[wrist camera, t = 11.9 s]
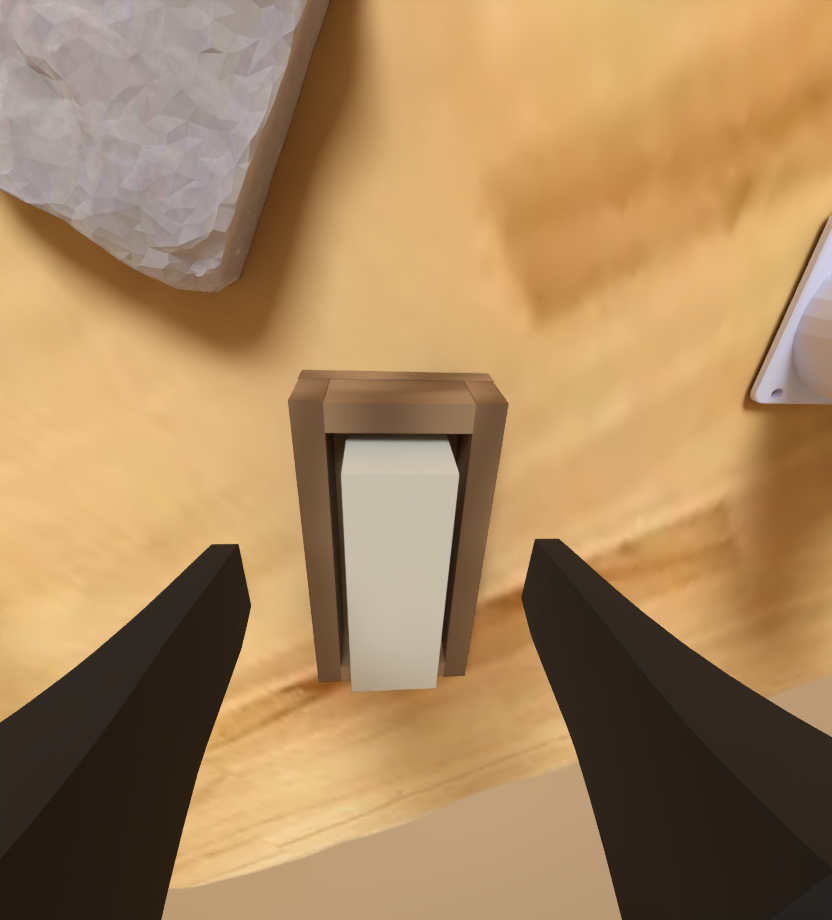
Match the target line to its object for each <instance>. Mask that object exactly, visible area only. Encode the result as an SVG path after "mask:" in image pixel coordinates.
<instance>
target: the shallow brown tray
mask: <svg viewBox="0 0 832 920" xmlns="http://www.w3.org/2000/svg"><path fill="white" fill-rule="evenodd" d="M493 382H494V381H493V380H492V378H491V377H490V376H489V374H477V373H426V372H375V371H323V370H302V371H301V373H300V375H299V377H298V382H297V384H296V386H295V388H294V390H293V392H292V394H291V396H290V398H289V400H288V405H289V414H290V423H291V432H292V441H293V450H294V460H295V469H296V478H297V487H298V496H299V505H300V514H301V524H302V533H303V542H304V551H305V560H306V569H307V578H308V588H309V597H310V606H311V615H312V624H313V633H314V643H315V652H316V661H317V670H318V679H319V682H339V681H348V680H351V666H350V646H349V626H348V605H347V585H346V565H345V544H344V524H343V504H342V483H341V472H342V465H343V458H344V451H345V444H346V438H347V433H412V434H446V435H447V438H448V441H449V444H450V447H451V450H452V453H453V456H454V459H455V462H456V465H457V468H458V472H459V482H458V491H457V500H456V509H455V518H454V527H453V536H452V546H451V555H450V564H449V573H448V582H447V591H446V600H445V609H444V618H443V627H442V637H441V646H440V655H439V664H438V673H437V676H443V677H448V676H465V670H466V664H467V658H468V652H469V646H470V639H471V633H472V627H473V621H474V614H475V608H476V602H477V596H478V590H479V583H480V577H481V571H482V565H483V559H484V552H485V546H486V540H487V534H488V528H489V521H490V515H491V509H492V503H493V496H494V490H495V484H496V478H497V472H498V465H499V459H500V453H501V447H502V441H503V434H504V428H505V422H506V416H507V410H508V402H507V401H506V399H505V398H504V396H503V395H502V394H501V392H500V391H499V389H498V388H497V387H496V385H495V384H494V383H493Z"/></svg>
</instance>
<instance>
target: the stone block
mask: <svg viewBox="0 0 832 920" xmlns="http://www.w3.org/2000/svg"><path fill="white" fill-rule="evenodd" d="M329 1H330V0H0V190H2V191H4V192H6V193H8V194H10V195H12V196H13V197H15V198H17V199H19V200H21V201H24V202H26V203H28V204H30V205H32V206H35V207H37V208H39V209H41V210H44V211H46V212H48V213H50V214H52V215H54V216H56V217H58V218H60V219H62V220H64V221H65V222H66V223H67V224H69V225H70V226H71V227H73V228H74V229H75V230H77V231H78V232H79V233H81V234H82V235H84V236H85V237H87V238H88V239H90V240H91V241H93V242H94V243H96V244H97V245H99V246H100V247H102V248H103V249H104V250H106V251H107V252H109V253H110V254H111V255H113V256H114V257H115V258H117V259H118V260H120V261H121V262H123V263H124V264H126V265H128V266H129V267H131V268H133V269H135V270H137V271H139V272H141V273H143V274H145V275H146V276H149V277H151V278H154V279H157V280H159V281H161V282H163V283H165V284H167V285H169V286H171V287H174V288H176V289H184V290H194V291H202V292H219V291H221V290H222V289H224V288H225V287H226V286H228V285H231V284H232V283H234V282H235V281H236V280H238V279H239V277H240V275H241V273H242V271H243V267H244V263H245V260H246V258H247V255H248V253H249V250H250V247H251V244H252V240H253V237H254V234H255V230H256V227H257V223H258V220H259V218H260V215H261V212H262V209H263V206H264V203H265V200H266V197H267V193H268V190H269V187H270V184H271V180H272V177H273V174H274V171H275V168H276V165H277V162H278V159H279V157H280V154H281V151H282V148H283V145H284V142H285V139H286V135H287V132H288V129H289V126H290V123H291V120H292V116H293V113H294V110H295V108H296V105H297V102H298V99H299V96H300V92H301V89H302V85H303V82H304V79H305V76H306V73H307V70H308V66H309V63H310V59H311V56H312V52H313V49H314V46H315V43H316V41H317V38H318V35H319V32H320V29H321V26H322V23H323V20H324V18H325V15H326V12H327V9H328V5H329Z"/></svg>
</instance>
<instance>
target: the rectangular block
mask: <svg viewBox="0 0 832 920" xmlns="http://www.w3.org/2000/svg"><path fill="white" fill-rule="evenodd" d="M458 482H459V472H458V468H457V465H456V462H455V459H454V456H453V453H452V450H451V447H450V444H449V441H448V438H447V435H446V434H412V433H347V438H346V444H345V451H344V458H343V465H342V472H341V483H342V504H343V524H344V544H345V565H346V585H347V605H348V626H349V646H350V666H351V687H352V692H366V691H387V690H407V689H428V688H436V682H437V673H438V664H439V655H440V646H441V637H442V627H443V618H444V609H445V600H446V591H447V582H448V573H449V564H450V555H451V546H452V536H453V527H454V518H455V509H456V500H457V491H458Z"/></svg>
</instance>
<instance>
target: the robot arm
mask: <svg viewBox="0 0 832 920" xmlns="http://www.w3.org/2000/svg"><path fill="white" fill-rule="evenodd" d="M774 390H775V392H774V393H773V394H772V392H773V391H774ZM771 394H772V395H771ZM750 398H751V399H752V400H753V401H755V402H757V403H761V404H832V214H831V216H830V217H829V219H828V222H827V224H826V226H825V228H824V230H823V233H822V235H821V237H820V239H819V241H818V244H817V246H816V248H815V250H814V253H813V255H812V257H811V259H810V261H809V264H808V266H807V268H806V270H805V272H804V275H803V277H802V279H801V281H800V283H799V286H798V288H797V290H796V292H795V295H794V297H793V299H792V301H791V303H790V306H789V308H788V310H787V312H786V314H785V317H784V319H783V321H782V323H781V326H780V328H779V330H778V332H777V334H776V337H775V339H774V341H773V343H772V345H771V348H770V350H769V352H768V354H767V357H766V359H765V361H764V363H763V365H762V368H761V370H760V372H759V374H758V376H757V379H756V381H755V383H754V385H753V388H752V390H751V393H750ZM521 598H522V602H523V606H524V610H525V614H526V618H527V622H528V626H529V629H530V633H531V637H532V639H533V642H534V644H535V647H536V650H537V652H538V655H539V657H540V660H541V662H542V665H543V668H544V670H545V673H546V675H547V678H548V680H549V683H550V685H551V688H552V690H553V693H554V695H555V698H556V700H557V703H558V705H559V708H560V710H561V713H562V715H563V718H564V720H565V723H566V725H567V728H568V731H569V733H570V736H571V739H572V742H573V745H574V747H575V750H576V754H577V757H578V760H579V764H580V767H581V770H582V773H583V777H584V780H585V784H586V787H587V790H588V794H589V797H590V801H591V804H592V808H593V811H594V815H595V818H596V822H597V826H598V829H599V833H600V837H601V840H602V844H603V847H604V851H605V855H606V859H607V863H608V867H609V871H610V874H611V878H612V882H613V886H614V890H615V894H616V898H617V902H618V906H619V910H620V913H621V918H622V920H832V737H830V736H829V735H827V734H825V733H823V732H822V731H820V730H818V729H816V728H815V727H813V726H811V725H809V724H808V723H806V722H804V721H802V720H801V719H799V718H797V717H796V716H794V715H792V714H790V713H789V712H787V711H785V710H784V709H782V708H780V707H779V706H777V705H775V704H774V703H772V702H771V701H769V700H767V699H766V698H764V697H763V696H761V695H759V694H758V693H756V692H755V691H753V690H751V689H750V688H748V687H746V686H745V685H743V684H742V683H740V682H739V681H737V680H736V679H734V678H733V677H731V676H730V675H728V674H726V673H725V672H723V671H722V670H721V669H719V668H718V667H716V666H715V665H713V664H712V663H711V662H709V661H708V660H706V659H705V658H703V657H702V656H700V655H699V654H698V653H696V652H695V651H693V650H692V649H690V648H689V647H688V646H686V645H685V644H684V643H682V642H681V641H679V640H678V639H677V638H675V637H674V636H673V635H672V634H670V633H669V632H668V631H666V630H665V629H664V628H663V627H661V626H660V625H659V624H657V623H656V622H655V621H654V620H652V619H651V618H650V617H648V616H647V615H646V614H645V613H644V612H642V611H641V610H640V609H639V608H637V607H636V606H635V605H634V604H633V603H631V602H630V601H629V600H628V599H627V598H625V597H624V596H623V595H622V594H621V593H620V592H618V591H617V590H616V589H615V588H614V587H613V586H612V585H610V584H609V583H608V582H607V581H606V580H605V579H604V578H602V577H601V576H600V575H599V574H598V573H597V572H596V571H595V570H593V569H592V568H591V567H590V566H589V565H588V564H587V563H586V562H585V561H583V560H582V559H581V558H580V557H579V556H578V555H577V554H576V553H574V552H573V551H572V550H571V549H570V548H569V547H568V546H567V545H565V544H564V543H563V542H562V541H561V540H559V539H535V541H534V546H533V550H532V554H531V559H530V563H529V567H528V572H527V576H526V580H525V584H524V589H523V593H522V597H521ZM250 608H251V603H250V598H249V593H248V588H247V583H246V579H245V574H244V569H243V564H242V559H241V554H240V549H239V545H238V544H214V545H211V546H210V547H209V548H207V549H206V550H205V551H204V552H203V553H202V554H201V555H200V556H199V557H198V558H197V559H196V560H195V561H194V562H193V563H192V564H190V565H189V566H188V567H187V568H186V569H185V570H184V571H183V572H182V573H181V574H180V575H179V576H178V577H177V578H176V579H175V580H174V581H173V582H172V583H171V584H170V585H169V586H168V587H167V588H166V589H164V590H163V591H162V592H161V593H160V594H159V595H158V596H157V597H156V598H155V599H154V600H153V601H152V602H150V603H149V604H148V605H147V606H146V607H145V608H144V609H143V610H142V611H141V612H140V613H139V614H138V615H136V616H135V617H134V618H133V619H132V620H131V621H130V622H129V623H127V624H126V625H125V626H124V627H123V628H122V629H120V630H119V631H118V632H117V633H116V634H115V635H113V636H112V637H111V638H110V639H109V640H108V641H106V642H105V643H104V644H103V645H102V646H101V647H100V648H98V649H97V650H96V651H95V652H94V653H92V654H91V655H90V656H89V657H88V658H86V659H85V660H84V661H83V662H81V663H80V664H79V665H78V666H76V667H75V668H74V669H72V670H71V671H70V672H69V673H67V674H66V675H65V676H64V677H62V678H61V679H60V680H58V681H57V682H56V683H54V684H53V685H52V686H50V687H49V688H48V689H46V690H45V691H44V692H42V693H41V694H40V695H38V696H37V697H36V698H34V699H33V700H32V701H30V702H29V703H27V704H26V705H25V706H23V707H22V708H21V709H19V710H18V711H16V712H15V713H13V714H12V715H10V716H9V717H8V718H6V719H5V720H3V721H2V722H0V920H161V918H162V914H163V909H164V905H165V900H166V896H167V892H168V888H169V884H170V880H171V876H172V871H173V867H174V863H175V859H176V855H177V851H178V847H179V843H180V839H181V835H182V831H183V827H184V823H185V819H186V816H187V812H188V808H189V804H190V800H191V797H192V793H193V789H194V785H195V781H196V778H197V774H198V771H199V768H200V764H201V761H202V758H203V755H204V752H205V749H206V746H207V743H208V740H209V738H210V735H211V732H212V729H213V727H214V724H215V721H216V718H217V715H218V713H219V710H220V707H221V704H222V702H223V699H224V696H225V693H226V690H227V688H228V685H229V682H230V679H231V676H232V674H233V671H234V668H235V665H236V662H237V659H238V657H239V654H240V651H241V648H242V644H243V640H244V635H245V631H246V627H247V622H248V618H249V613H250Z"/></svg>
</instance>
